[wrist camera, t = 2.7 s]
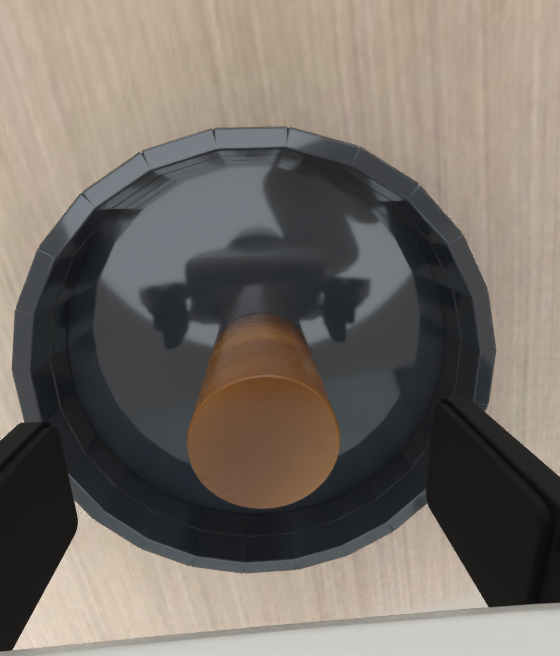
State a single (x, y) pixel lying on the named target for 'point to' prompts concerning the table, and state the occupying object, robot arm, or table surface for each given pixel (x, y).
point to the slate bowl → (235, 302)
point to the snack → (262, 417)
